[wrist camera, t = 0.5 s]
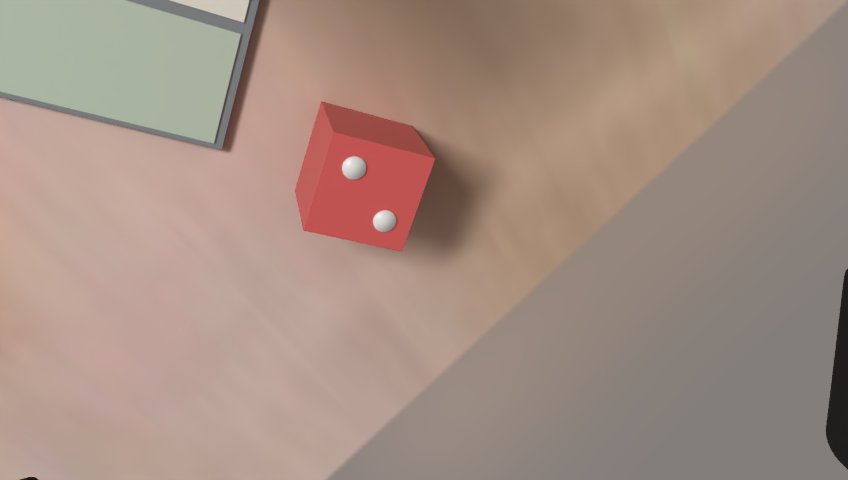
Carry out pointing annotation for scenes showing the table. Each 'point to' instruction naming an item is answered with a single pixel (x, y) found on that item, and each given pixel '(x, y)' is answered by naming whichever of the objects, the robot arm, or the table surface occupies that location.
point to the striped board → (129, 61)
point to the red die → (362, 177)
